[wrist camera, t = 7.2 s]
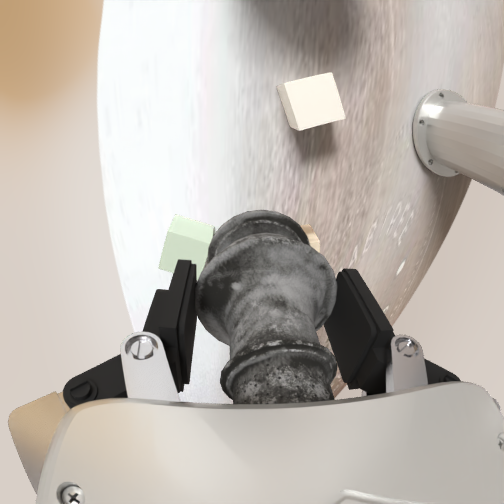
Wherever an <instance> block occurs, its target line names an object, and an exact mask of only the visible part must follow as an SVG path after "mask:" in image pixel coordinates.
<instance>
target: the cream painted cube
mask: <svg viewBox="0 0 504 504" xmlns="http://www.w3.org/2000/svg"><path fill="white" fill-rule="evenodd" d="M276 87H277V90H278V93H279V96H280V98H281V101H282V104H283V107H284V110H285V113H286V116H287V119H288V122H289V125H290V127H291V128H294V129H296V130H299V131H300V130H304V129H307V128H311V127H315V126H318V125H322V124H326V123H330V122H334V121H338V120H342V119H346V118H345V114H344V111H343V107H342V104H341V100H340V97H339V93H338V90H337V87H336V84H335V81H334V77H333V74H332V72H330V73H325V74H320V75H316V76H311V77H307V78H303V79H298V80H294V81H290V82H287V83H283V84H281V85H279V86H276Z"/></svg>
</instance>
